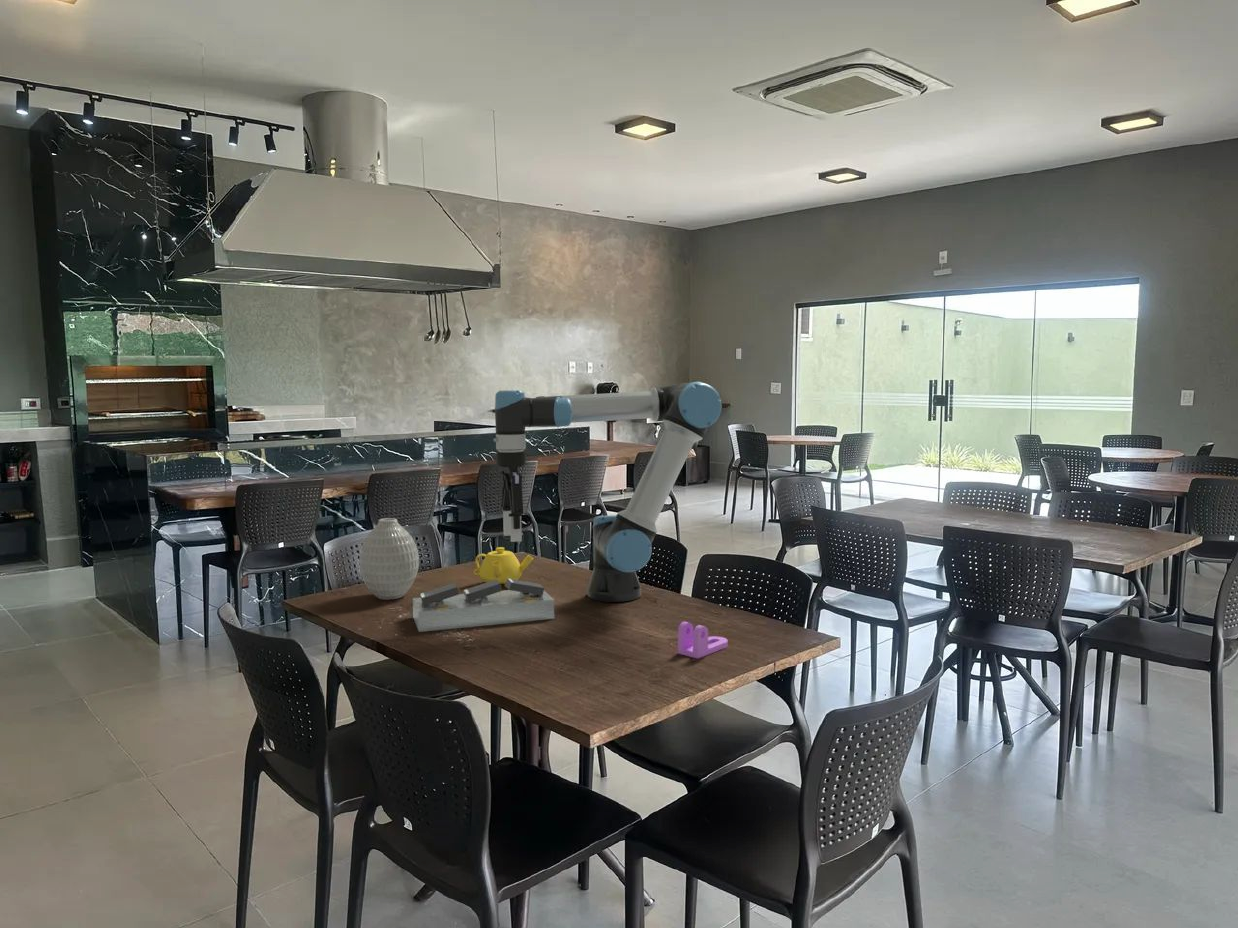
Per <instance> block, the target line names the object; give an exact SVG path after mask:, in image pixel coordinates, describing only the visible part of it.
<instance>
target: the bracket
mask: <svg viewBox="0 0 1238 928" xmlns="http://www.w3.org/2000/svg"><path fill="white" fill-rule="evenodd" d="M728 641H729V640H728V639H727V638H726V637H722V636H714V635H713V636H709V629H708V627H707V626H705V625H700V624H698V625H696V626H695V628H694V625H693V624H692V623H691V622H688V621H682V622H681V623H680V624H679V626H678V629H677V654H678V655H684V656H686V657H691V658H693V659H701V658H703V657H706V656H708V655H711V654H714V653H716V652H718V651H721V650H724V649H726V648H728V643H729V642H728Z"/></svg>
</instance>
